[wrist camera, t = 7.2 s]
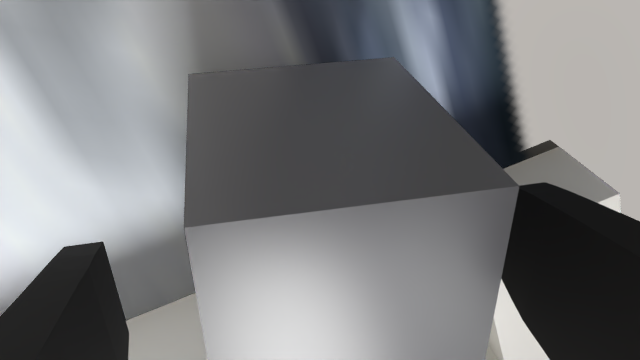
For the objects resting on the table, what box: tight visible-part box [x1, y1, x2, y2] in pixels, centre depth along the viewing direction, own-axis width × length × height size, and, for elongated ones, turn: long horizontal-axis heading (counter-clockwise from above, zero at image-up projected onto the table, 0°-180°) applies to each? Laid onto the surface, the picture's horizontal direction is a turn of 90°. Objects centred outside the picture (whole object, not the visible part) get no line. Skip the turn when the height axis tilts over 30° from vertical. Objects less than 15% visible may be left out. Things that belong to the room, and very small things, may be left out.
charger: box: [184, 57, 519, 360], centre depth 11 cm, size 5×4×7 cm
